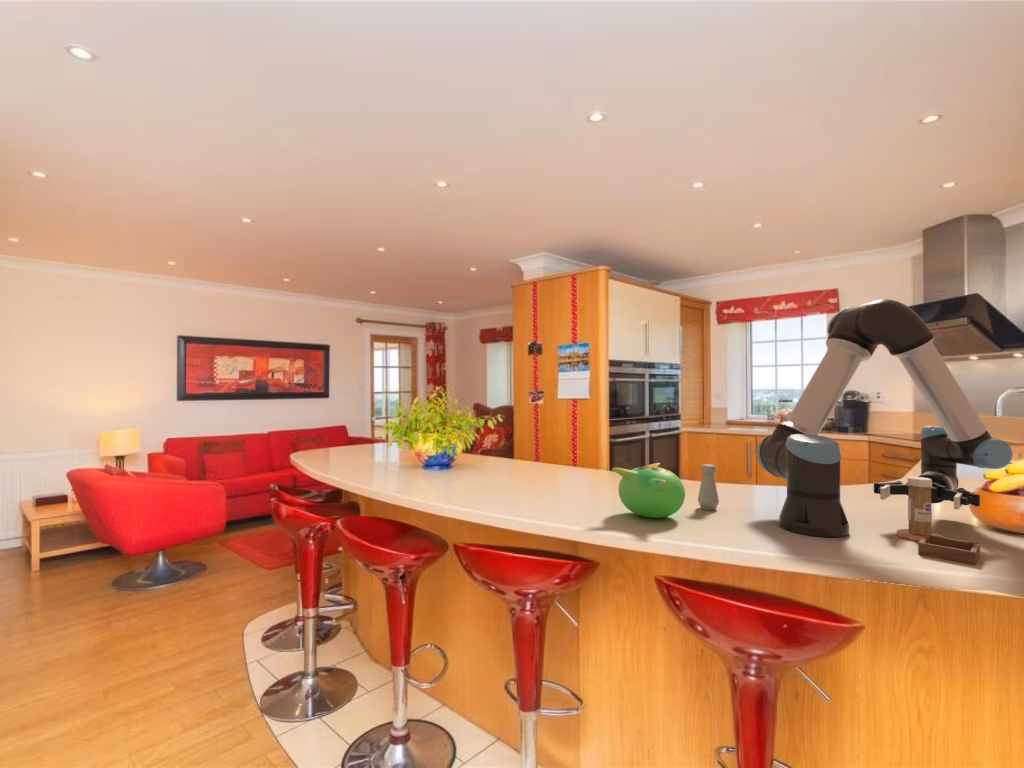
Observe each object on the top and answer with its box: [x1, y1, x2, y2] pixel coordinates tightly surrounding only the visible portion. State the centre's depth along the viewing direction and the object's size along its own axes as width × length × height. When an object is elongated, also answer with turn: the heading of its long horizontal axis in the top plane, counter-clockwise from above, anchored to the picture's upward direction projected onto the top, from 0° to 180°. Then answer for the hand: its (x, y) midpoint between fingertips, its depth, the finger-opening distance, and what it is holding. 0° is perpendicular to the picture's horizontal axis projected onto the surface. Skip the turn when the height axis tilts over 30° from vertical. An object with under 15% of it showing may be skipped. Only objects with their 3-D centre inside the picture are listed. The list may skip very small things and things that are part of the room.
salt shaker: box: [697, 463, 720, 511], centre depth 149 cm, size 6×6×13 cm
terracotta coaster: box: [896, 528, 946, 543], centre depth 120 cm, size 9×9×1 cm
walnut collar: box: [917, 535, 981, 566], centre depth 107 cm, size 9×9×2 cm
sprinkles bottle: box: [907, 476, 933, 536], centre depth 120 cm, size 5×5×14 cm
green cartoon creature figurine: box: [611, 462, 686, 519], centre depth 138 cm, size 18×17×15 cm
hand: (917, 498), depth 118 cm, fingers open, 13 cm apart
